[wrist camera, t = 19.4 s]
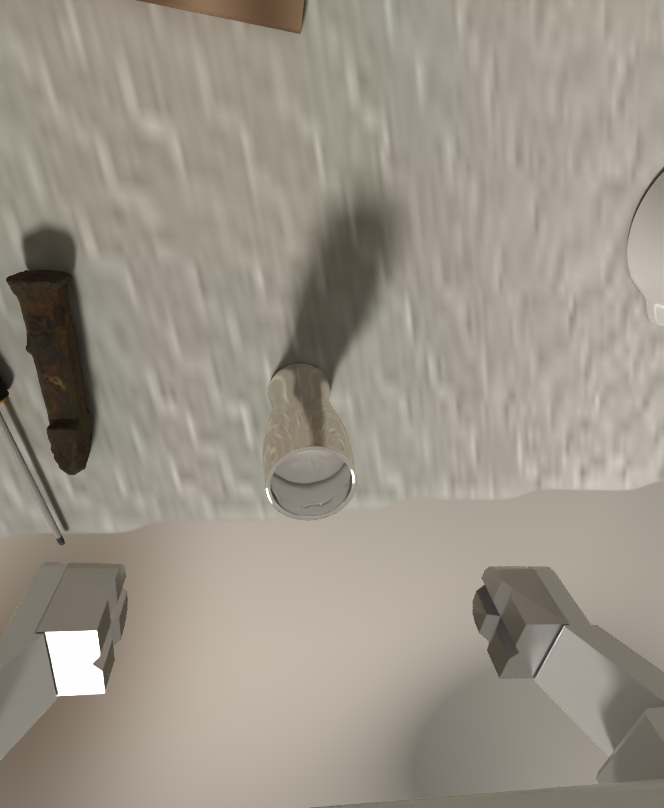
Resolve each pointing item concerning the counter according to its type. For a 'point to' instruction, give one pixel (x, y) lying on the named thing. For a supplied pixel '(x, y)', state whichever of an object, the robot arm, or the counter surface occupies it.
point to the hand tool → (56, 363)
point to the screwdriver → (27, 470)
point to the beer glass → (306, 447)
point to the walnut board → (246, 11)
